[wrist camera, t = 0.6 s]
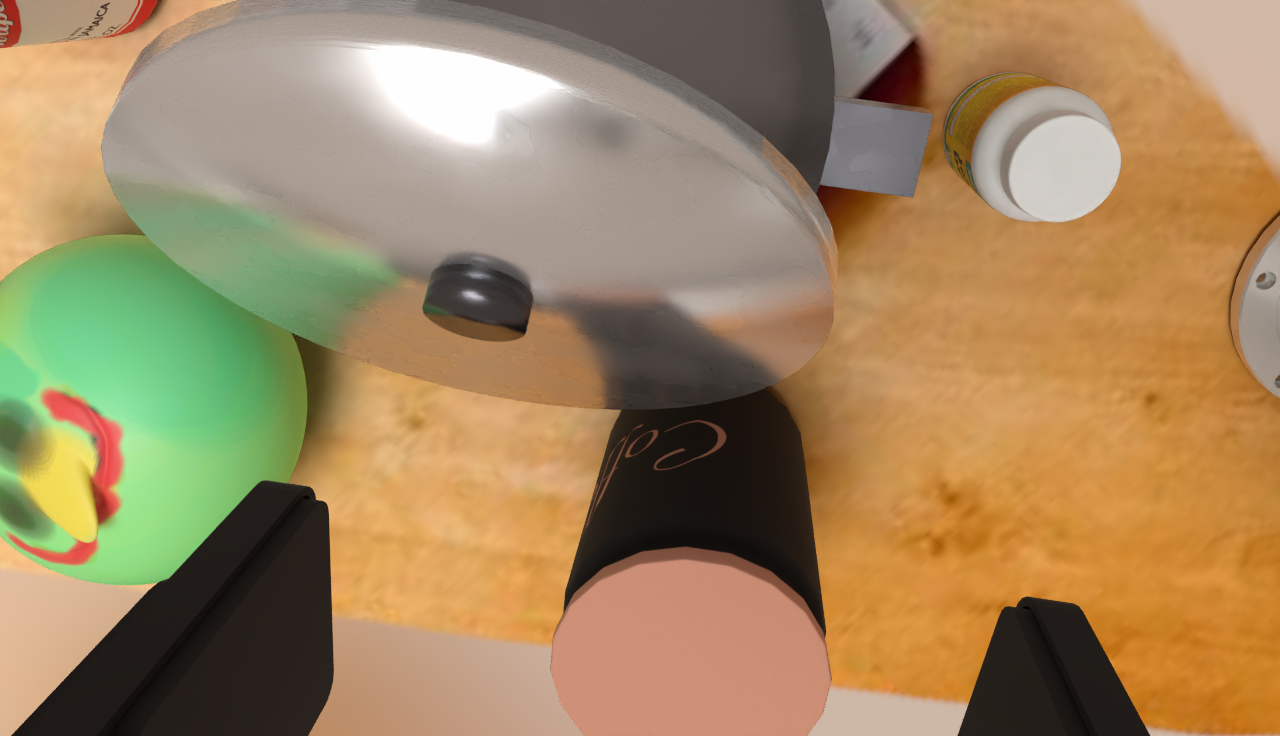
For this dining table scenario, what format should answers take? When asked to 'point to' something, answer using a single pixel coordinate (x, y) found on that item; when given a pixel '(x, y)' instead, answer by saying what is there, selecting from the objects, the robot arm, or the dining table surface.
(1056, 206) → the supplement bottle
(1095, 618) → the dining table surface
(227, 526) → the robot arm
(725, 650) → the coffee jar
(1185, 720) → the dining table surface
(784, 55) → the pot
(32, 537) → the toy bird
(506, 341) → the lid
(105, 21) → the beer can
